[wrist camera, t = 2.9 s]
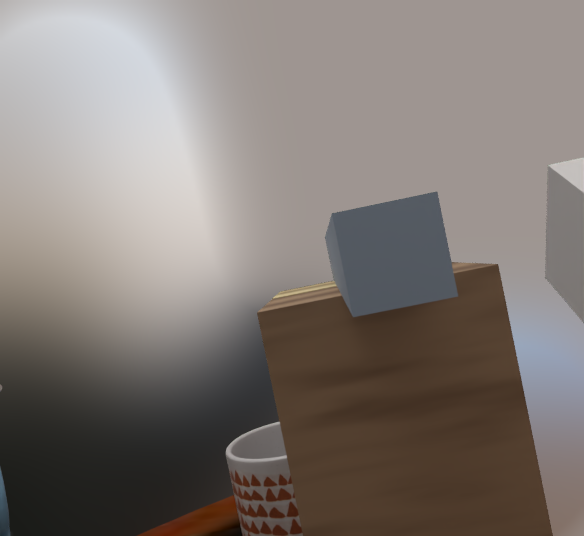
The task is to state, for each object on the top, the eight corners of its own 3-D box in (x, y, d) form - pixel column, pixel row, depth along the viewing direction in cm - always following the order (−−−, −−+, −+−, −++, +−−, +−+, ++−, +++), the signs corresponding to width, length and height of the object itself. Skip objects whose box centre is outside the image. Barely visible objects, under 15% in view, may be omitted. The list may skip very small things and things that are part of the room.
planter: (258, 592, 57) (233, 471, 57) (239, 535, 71) (219, 437, 70) (380, 550, 60) (356, 436, 60) (340, 503, 74) (321, 409, 74)
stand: (601, 778, 32) (497, 263, 32) (360, 814, 33) (256, 311, 32) (493, 577, 52) (429, 260, 52) (345, 602, 53) (281, 290, 52)
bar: (458, 296, 21) (437, 191, 21) (353, 317, 21) (331, 213, 21) (376, 271, 51) (368, 228, 51) (333, 280, 51) (325, 237, 51)
